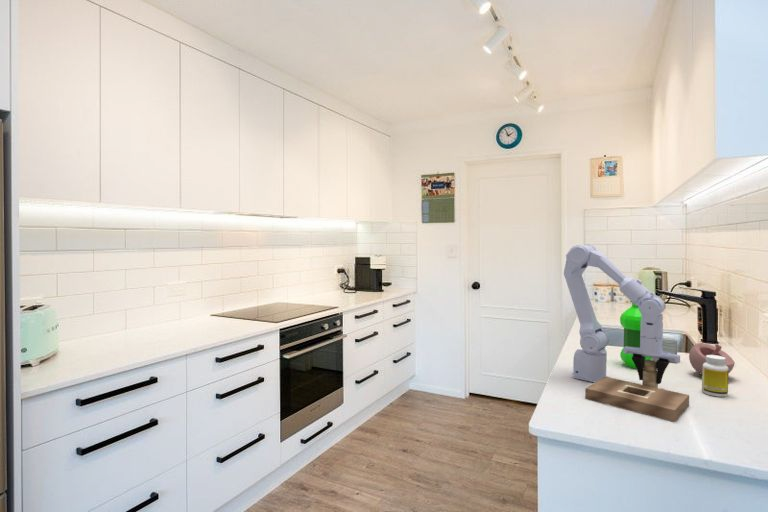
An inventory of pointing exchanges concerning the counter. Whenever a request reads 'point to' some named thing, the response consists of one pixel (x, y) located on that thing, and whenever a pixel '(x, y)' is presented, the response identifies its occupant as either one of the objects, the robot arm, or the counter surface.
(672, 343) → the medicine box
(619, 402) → the socket board
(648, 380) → the beech peg
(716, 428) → the counter surface
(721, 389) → the pill bottle
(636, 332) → the plastic bottle
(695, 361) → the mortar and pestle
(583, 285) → the robot arm
